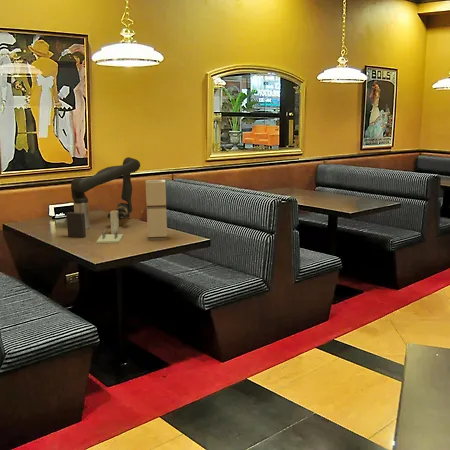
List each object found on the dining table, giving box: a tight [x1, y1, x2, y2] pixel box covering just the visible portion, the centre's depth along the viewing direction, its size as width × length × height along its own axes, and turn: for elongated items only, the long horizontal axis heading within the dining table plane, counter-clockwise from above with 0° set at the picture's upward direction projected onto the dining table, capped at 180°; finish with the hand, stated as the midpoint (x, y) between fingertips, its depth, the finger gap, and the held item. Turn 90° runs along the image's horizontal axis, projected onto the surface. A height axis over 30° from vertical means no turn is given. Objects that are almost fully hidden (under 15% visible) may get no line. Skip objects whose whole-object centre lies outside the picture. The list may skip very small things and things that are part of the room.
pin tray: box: [95, 229, 124, 244], centre depth 330 cm, size 13×18×5 cm
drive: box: [109, 209, 120, 234], centre depth 347 cm, size 4×6×14 cm, turn 2°
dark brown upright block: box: [65, 211, 87, 239], centre depth 338 cm, size 11×4×15 cm, turn 71°
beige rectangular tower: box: [145, 179, 168, 241], centre depth 331 cm, size 11×11×35 cm
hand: (117, 217), depth 357 cm, fingers open, 8 cm apart
